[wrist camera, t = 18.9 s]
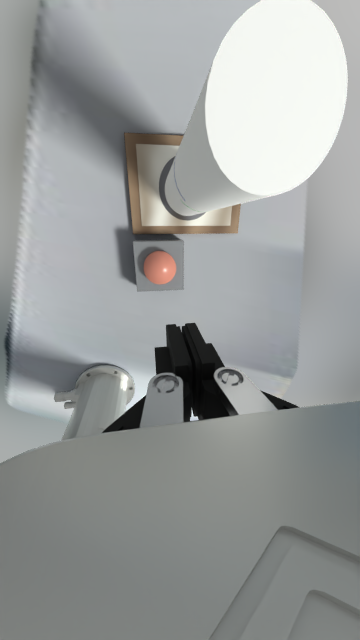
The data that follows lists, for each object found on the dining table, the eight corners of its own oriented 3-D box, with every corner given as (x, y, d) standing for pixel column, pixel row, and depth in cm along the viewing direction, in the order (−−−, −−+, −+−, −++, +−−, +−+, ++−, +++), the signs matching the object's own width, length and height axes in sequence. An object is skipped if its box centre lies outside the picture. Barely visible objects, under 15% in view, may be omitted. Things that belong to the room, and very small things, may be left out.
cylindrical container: (194, 151, 31) (327, -56, 8) (217, 198, 34) (359, 143, 11) (155, 181, 31) (175, 69, 9) (180, 225, 34) (243, 223, 12)
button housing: (138, 286, 39) (137, 291, 35) (134, 240, 35) (132, 241, 32) (180, 284, 40) (183, 289, 36) (180, 239, 36) (183, 240, 33)
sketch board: (133, 233, 35) (133, 234, 34) (124, 134, 29) (123, 132, 29) (235, 233, 37) (237, 233, 36) (245, 141, 32) (247, 138, 31)
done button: (145, 279, 37) (144, 285, 34) (142, 249, 35) (142, 251, 32) (173, 278, 38) (176, 283, 35) (173, 248, 36) (176, 251, 32)
